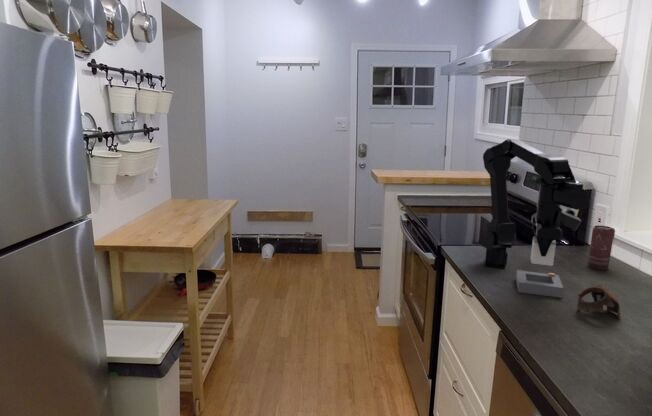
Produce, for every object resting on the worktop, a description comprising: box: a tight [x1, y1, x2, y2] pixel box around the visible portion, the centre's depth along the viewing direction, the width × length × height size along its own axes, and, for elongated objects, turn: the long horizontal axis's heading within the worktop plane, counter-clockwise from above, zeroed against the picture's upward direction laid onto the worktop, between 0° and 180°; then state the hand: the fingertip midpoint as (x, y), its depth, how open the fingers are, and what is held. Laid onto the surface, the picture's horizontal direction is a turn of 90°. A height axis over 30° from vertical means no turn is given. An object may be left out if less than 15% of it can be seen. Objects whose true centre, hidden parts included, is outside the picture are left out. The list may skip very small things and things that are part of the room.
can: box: [587, 225, 616, 271], centre depth 152 cm, size 6×6×14 cm
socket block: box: [515, 269, 565, 299], centre depth 135 cm, size 12×10×4 cm
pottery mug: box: [576, 284, 622, 321], centre depth 119 cm, size 12×10×8 cm
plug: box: [530, 235, 557, 266], centre depth 132 cm, size 6×4×7 cm
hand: (542, 253), depth 133 cm, fingers closed on plug, 4 cm apart
